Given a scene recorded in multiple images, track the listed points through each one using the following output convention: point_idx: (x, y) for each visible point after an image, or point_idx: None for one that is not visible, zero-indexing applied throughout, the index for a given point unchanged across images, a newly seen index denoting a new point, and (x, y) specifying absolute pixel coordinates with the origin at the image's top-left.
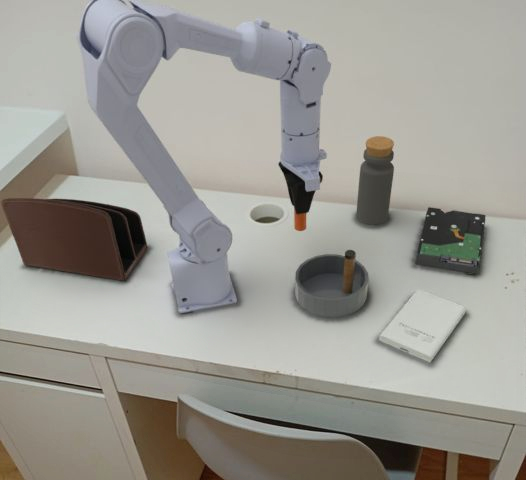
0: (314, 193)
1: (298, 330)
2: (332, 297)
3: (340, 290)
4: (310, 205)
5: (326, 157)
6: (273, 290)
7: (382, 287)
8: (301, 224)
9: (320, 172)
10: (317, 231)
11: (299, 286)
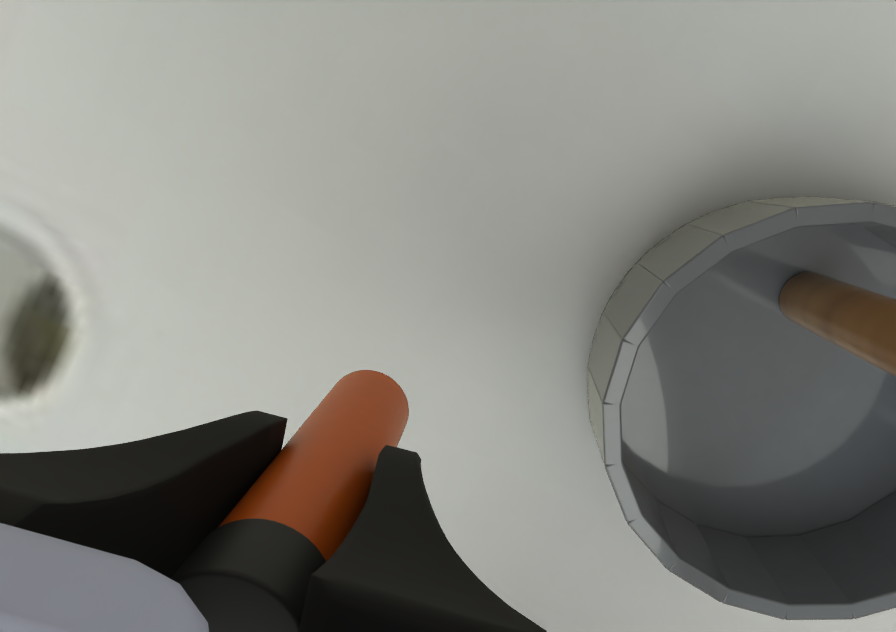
0: (443, 533)
1: (885, 622)
2: (806, 393)
3: (784, 329)
4: (420, 475)
5: (173, 591)
6: (577, 581)
7: (882, 101)
8: (398, 442)
9: (373, 611)
10: (246, 149)
11: (794, 618)
